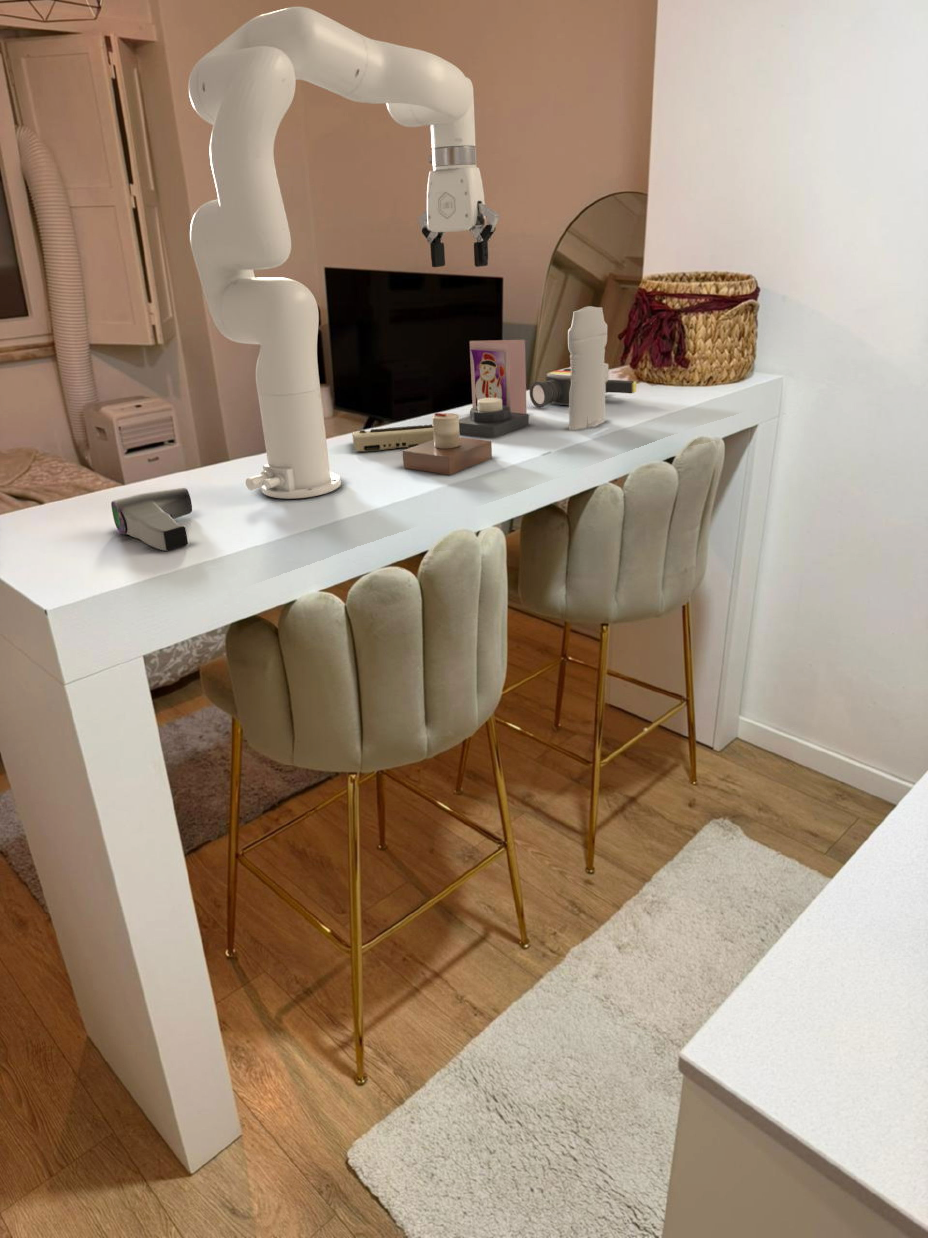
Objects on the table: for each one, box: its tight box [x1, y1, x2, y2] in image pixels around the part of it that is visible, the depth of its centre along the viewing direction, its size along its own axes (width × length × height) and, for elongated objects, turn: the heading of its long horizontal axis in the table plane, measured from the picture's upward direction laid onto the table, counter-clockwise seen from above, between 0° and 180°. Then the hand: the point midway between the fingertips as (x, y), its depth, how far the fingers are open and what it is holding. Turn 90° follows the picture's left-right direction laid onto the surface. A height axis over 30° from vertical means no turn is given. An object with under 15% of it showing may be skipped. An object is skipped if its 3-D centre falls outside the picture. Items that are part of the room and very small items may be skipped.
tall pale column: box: [567, 305, 608, 431], centre depth 168 cm, size 11×4×22 cm, turn 132°
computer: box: [351, 424, 434, 452], centre depth 165 cm, size 16×8×3 cm, turn 99°
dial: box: [432, 412, 461, 449], centre depth 150 cm, size 4×4×5 cm
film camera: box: [529, 362, 637, 409], centre depth 189 cm, size 7×19×15 cm
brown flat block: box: [402, 436, 493, 476], centre depth 151 cm, size 12×10×3 cm
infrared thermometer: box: [110, 487, 193, 552], centre depth 125 cm, size 5×12×15 cm
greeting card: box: [469, 339, 528, 414], centre depth 181 cm, size 11×7×15 cm, turn 42°
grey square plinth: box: [459, 405, 530, 439], centre depth 173 cm, size 12×10×4 cm
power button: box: [477, 398, 502, 412], centre depth 172 cm, size 5×5×2 cm
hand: (459, 266), depth 160 cm, fingers open, 9 cm apart
